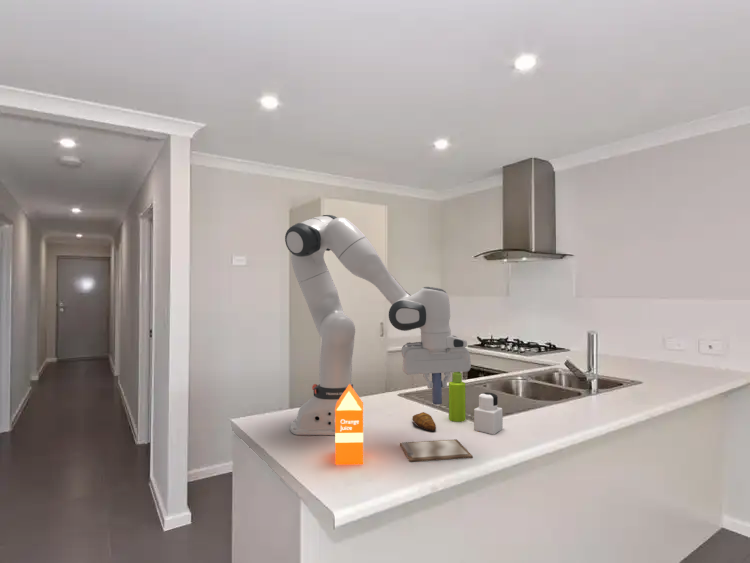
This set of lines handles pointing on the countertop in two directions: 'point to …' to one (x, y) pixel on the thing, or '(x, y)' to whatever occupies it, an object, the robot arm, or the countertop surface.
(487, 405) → the medicine bottle
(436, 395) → the marker
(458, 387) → the soap dispenser
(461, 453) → the metal serving tray
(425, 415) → the croissant
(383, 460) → the countertop surface
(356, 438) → the orange juice
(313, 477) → the countertop surface
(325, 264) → the robot arm
